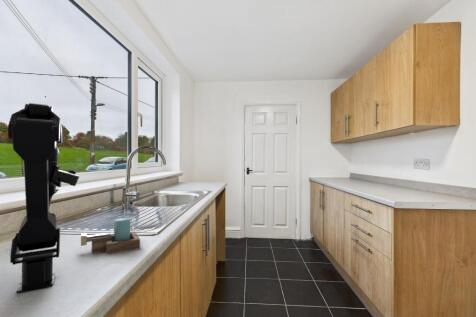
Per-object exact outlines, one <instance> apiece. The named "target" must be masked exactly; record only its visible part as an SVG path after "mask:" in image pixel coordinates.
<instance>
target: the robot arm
mask: <svg viewBox="0 0 476 317" xmlns="http://www.w3.org/2000/svg"><path fill="white" fill-rule="evenodd" d="M7 136H8V139H9V140H11V141H12V150H13V151H14V152H15V153H16V154H17V156H19V157H20V159H21V160H22V161H23V171H24V172H23V174H24V188H25V189H24V190H25V208H26V209H25V214H26V215H24V218H23V219H22V221H21V223H20V225H19V229H18V232H16V233H15V235H14V237H13V238H12V239H11V249H10V257H9V258H10V259H9V260H10V261H9V262H10V264H12V265H13V266H15V265H19V264H21V282H20V283H19V285H18V287H17V289H16V292H15V293H16V294H18V293H24V292H29V291H33V290H38V289H44V288H48V287H52V286H54V284H55V283H54V282H55V279H56V276H57V273H53V270H54V268H53V267H54V266H53V263H54V262H53V261H54V258H59V257H60V252H61V227H58V221H57V219H58V218H57V216H56V214H55V213H54V212H53V213H51V212H50V206H51V202H52V199H53V196H54V195H55V194H56V193H58V191H60V189H57V187H58V188H60V187H62V183H64V184H68V185H70V186H71V187H76V185H77V183H78V182H79V179H80V174H77V172H76V170H73V169H69V170H68V171H66V170H62V169H60V165H59V164H58V162H59V159H58V157H59V156H60V151H59V148H58V145H57V144H63V125H62V124H61V118H60V116H58V115H57V114H56V113H55V112H54V109H53V106H51V105H50V104H42V103H34V102H33V103H31V102H30V103H25V104H24V108H22V109H20V110H18V111H16V112H14V113H12V114H11V116H10V119H9V122H8V126H7ZM54 247H55V248H54ZM20 252H21V253H20Z"/></svg>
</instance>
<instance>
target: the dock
mask: <svg viewBox="0 0 476 317" xmlns="http://www.w3.org/2000/svg"><path fill="white" fill-rule="evenodd" d="M140 248H141V239H140V237H139V235H138V234H137V232H136V231H130V239H129V240H122V241H115V242H114V234H111V239H106V236H105V237H97V238H92V241H91V254H94V253H101V252H106V255H107V254H112V253H120V252H125V251H131V250H132V251H133V250H137V249H140Z"/></svg>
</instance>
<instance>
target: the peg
mask: <svg viewBox="0 0 476 317" xmlns="http://www.w3.org/2000/svg"><path fill="white" fill-rule="evenodd" d="M113 228H114V229H113V235H114V242H115V241H122V240H129V239H130V232H131V218H129V217H127V218H125V217H124V218H123V217H122V218H117V219H114V221H113Z"/></svg>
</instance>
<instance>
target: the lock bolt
mask: <svg viewBox="0 0 476 317" xmlns="http://www.w3.org/2000/svg"><path fill="white" fill-rule="evenodd" d="M87 234H88V233H87V232H83V233H81V234H80V246H81V247H83V246H87V244H88V243H90V242H91V243H92V238H97V237H105V236H106V239H111V235H112V232H107V233H106V232H105V233H99V234H98V233H97V234H90V235H87Z"/></svg>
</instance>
